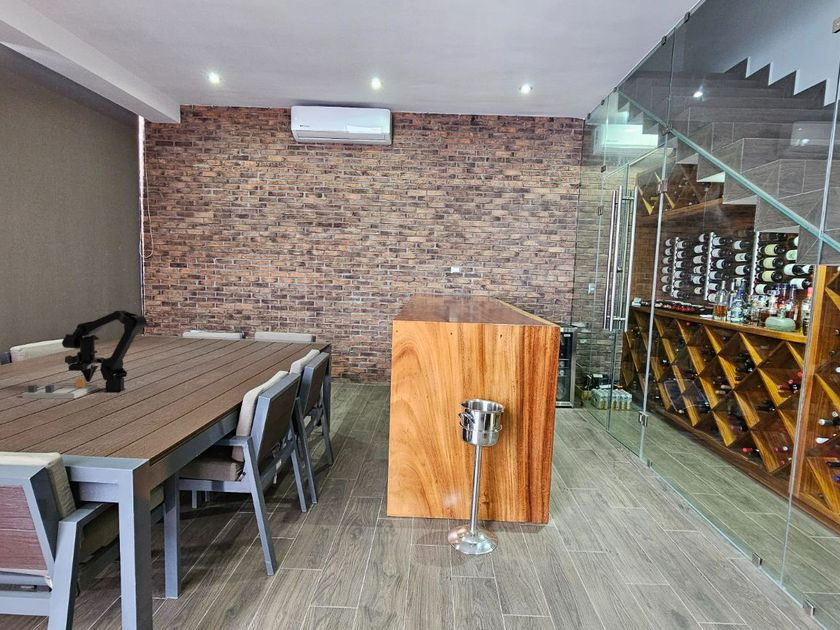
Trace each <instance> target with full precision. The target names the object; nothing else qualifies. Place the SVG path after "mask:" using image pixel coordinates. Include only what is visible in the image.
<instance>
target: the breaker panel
mask: <svg viewBox="0 0 840 630" xmlns="http://www.w3.org/2000/svg"><path fill="white" fill-rule="evenodd" d="M97 389H98V384H91V383H90V384H87V383H86V387H83V388H76V383H74V384H73V383H72V384H71V383H48V384H45V385H42V386H40V387H38V384H29V385H27V391H25V392H23V393H22V399H76V398H78V397H81V396H84V395H85V394H88V393H90V392H93V391H96V390H97Z"/></svg>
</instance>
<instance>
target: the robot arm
mask: <svg viewBox="0 0 840 630" xmlns="http://www.w3.org/2000/svg"><path fill="white" fill-rule="evenodd" d="M118 321H119V322H120V323H121V324H122V325H123V331H124V332H123V334H122V335H121V337H120V339H119V341H118V343H117V345H116V347H115V348H114V350H113V352H112V355H111V356H110V357H106V358H105V357H101V356H100V357H96V353H98V350H96V347H95V345H96V344H95V343H96V341H99V340H100V338H99V337H98V336H96V333H98V332H99V331H100V330H101V329H103V328H104V327H106V326H108V325H111V324H113V323H115V322H118ZM147 323H148V321H147V319H146V317H145V316H144V315H141V314H140V315H139V314H136V313H132V312H128V311H127V310H124V309H120V310H115V311H114V312H113V311H112V312H111V313H109V314H107V315H103V316H102V317H100V318H97V319H95V320H92V321H86V322H82V323H78V324H77V325H76V328H75V330H74V331H73V333H65V336H64V338H63V339H62V341H61V344H62V347H63V348H65V349H76V350H77V349H78V350H79V351H77V353H76V355H74V356H73V355H66V356H65V357H64V363H66V364H67V365H68V368H67V369H68V371H72V372H81V373H82V375H83V378H84V379H85V383H86V382H87V383H89V382H91V380H92V378H93V376H95V375H94V374H95V373H96V371H97V369H98V368H99V367H100V368H99V371H100V373H101V375H102V378H103V381H105V383H104V384H105V391H104V393H107V394H108V393H111V394H115V393H117V394H119V393H122V392H124V391H125V389H126V390H127V388H125V377H127V375H128V371H127V370H125V368H124V358H125V356H126V355H127V353H128V350H129V348H130V347H131V345H132V343H133V341H134V339H135V338H136V335H138V333H140V332H141V331H142V330H143V329H144V328H145V327H146V325H147ZM96 364H100V365H96ZM123 390H124V391H123ZM121 391H122V392H121Z"/></svg>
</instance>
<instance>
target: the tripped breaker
mask: <svg viewBox="0 0 840 630" xmlns="http://www.w3.org/2000/svg"><path fill="white" fill-rule="evenodd" d="M75 384H76V388H83V387H86V384H87V383H86V379H85V378H77V379H75Z"/></svg>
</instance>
